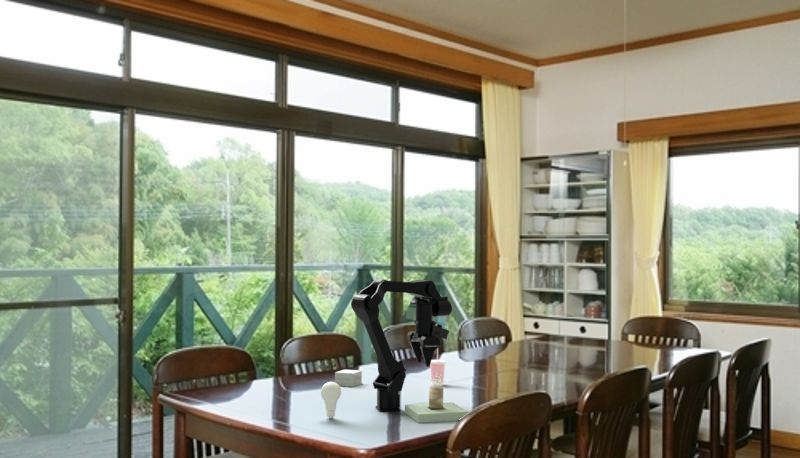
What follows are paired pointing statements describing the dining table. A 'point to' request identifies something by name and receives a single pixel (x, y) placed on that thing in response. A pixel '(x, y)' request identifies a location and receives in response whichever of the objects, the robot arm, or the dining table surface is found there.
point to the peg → (436, 398)
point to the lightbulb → (330, 397)
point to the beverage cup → (437, 371)
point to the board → (435, 412)
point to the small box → (348, 377)
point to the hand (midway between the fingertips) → (423, 364)
